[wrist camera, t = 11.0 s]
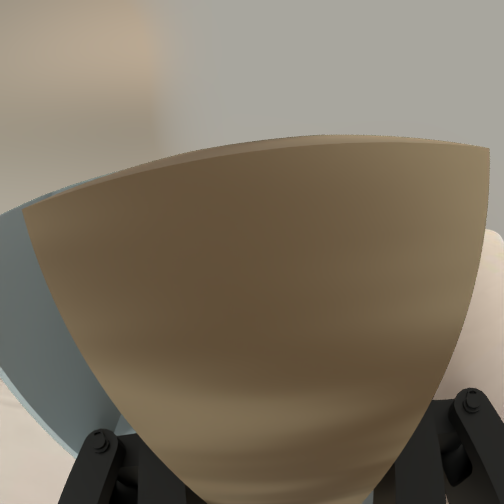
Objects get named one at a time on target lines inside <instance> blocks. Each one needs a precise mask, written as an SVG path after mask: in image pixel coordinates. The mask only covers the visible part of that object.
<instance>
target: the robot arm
mask: <svg viewBox="0 0 504 504" xmlns="http://www.w3.org/2000/svg"><path fill="white" fill-rule="evenodd" d="M445 494H446V496H447V499H448V502H449V504H504V423H503V422H502V420H501V418H500V417H499V415H498V414H497V412H496V410H495V409H494V407H493V406H492V404H491V403H490V401H489V399H488V398H487V396H486V395H485V394H484V393H483V392H482V391H480V390H478V389H476V388H467V389H463V390H462V391H461V392H459V393H458V394H457V396H456V398H455V399H449V400H431V402H430V404H429V406H428V408H427V410H426V412H425V414H424V415H423V417H422V419H421V421H420V423H419V424H418V426H417V428H416V429H415V431H414V433H413V434H412V436H411V438H410V439H409V441H408V442H407V444H406V446H405V447H404V449H403V450H402V452H401V453H400V455H399V456H398V457H397V459H396V460H395V462H394V463H393V465H392V466H391V467H390V469H389V470H388V471H387V473H386V474H385V475H384V477H383V478H382V479H381V481H380V482H379V483H378V484H377V486H376V487H375V488H374V489H373V504H446V497H445ZM58 504H207V503H206V502H205V501H204V500H203V499H201V498H200V497H199V496H198V495H197V494H196V493H194V492H193V491H192V490H191V489H190V488H189V487H188V486H187V485H186V484H185V483H183V482H182V481H181V480H180V479H179V478H178V477H177V476H176V475H175V474H174V473H173V472H172V471H171V470H170V469H169V468H168V467H167V466H166V465H165V464H164V463H163V462H162V461H161V460H160V459H159V458H158V457H157V455H156V454H155V453H154V452H153V451H152V450H151V449H150V448H149V447H148V445H147V444H146V443H145V442H144V441H143V440H142V439H141V437H140V436H139V435H138V434H137V433H134V434H127V435H120V436H116V435H115V434H114V432H113V431H111V430H108V429H102V428H100V429H97V430H94V431H92V432H91V433H90V434H88V436H87V437H86V439H85V440H84V443H83V445H82V447H81V449H80V451H79V454H78V456H77V458H76V460H75V463H74V465H73V467H72V470H71V472H70V474H69V477H68V479H67V482H66V484H65V487H64V489H63V492H62V494H61V497H60V499H59V502H58Z"/></svg>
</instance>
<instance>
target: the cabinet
mask: <svg viewBox="0 0 504 504" xmlns="http://www.w3.org/2000/svg"><path fill="white" fill-rule="evenodd" d="M121 171H122V170H121ZM118 172H119V171H118ZM113 173H115V172H113ZM110 174H112V173H110ZM106 175H109V174H106ZM106 175H103V176H106ZM103 176H99V177H96V178H93V179H89V180H86V181H83V182H80V183H76V184H73V185H70V186H67V187H65V188H62V189H60V190H57V191H54V192H51V193H48V194H46V195H43V196H41V197H38V198H36V199H34V200H31V201H29V202H27V203H24V204H22V205H20V206H18V207H16V208H14V209H11V210H9V211H7V212H5V213H3V214H1V215H0V377H1V379H2V380H3V382H4V383H5V384H6V386H7V387H8V388H9V390H10V391H11V392H12V393H13V395H14V396H15V397H16V398H17V400H18V401H19V402H20V403H21V404H22V406H23V407H24V408H25V409H26V410H27V411H28V413H29V414H30V415H31V416H32V417H33V418H34V419H35V420H36V421H37V422H38V423H39V425H40V426H41V427H42V428H43V429H44V430H45V431H46V432H47V433H48V434H49V435H50V436H51V437H52V438H53V439H54V440H55V441H56V442H57V443H59V444H60V445H61V446H62V447H63V448H64V449H65V450H66V451H67V452H68V453H69V454H71V455H72V456H73V457H74V458H75V459H76V458H77V456H78V454H79V451H80V449H81V447H82V445H83V443H84V440H85V439H86V437H87V436H88V434H90V433H91V432H92V431H94V430H97V429H100V428H102V429H108V430H111V431H113V432H114V434H115V435H116V436H120V435H127V434H134V433H136V431H135V430H134V429H133V428H132V427H131V425H130V424H129V423H128V422H127V420H126V419H125V418H124V416H123V415H122V414H121V413H120V411H119V410H118V409H117V407H116V406H115V404H114V403H113V402H112V400H111V399H110V398H109V396H108V395H107V393H106V392H105V390H104V389H103V387H102V386H101V384H100V383H99V381H98V380H97V378H96V377H95V375H94V374H93V372H92V371H91V369H90V367H89V366H88V364H87V362H86V361H85V359H84V357H83V356H82V354H81V352H80V351H79V349H78V347H77V345H76V344H75V342H74V340H73V338H72V336H71V334H70V332H69V331H68V329H67V327H66V325H65V323H64V321H63V319H62V317H61V315H60V313H59V311H58V308H57V306H56V304H55V302H54V300H53V297H52V295H51V293H50V291H49V288H48V286H47V284H46V281H45V279H44V276H43V274H42V271H41V268H40V266H39V263H38V260H37V258H36V255H35V252H34V249H33V246H32V243H31V240H30V237H29V234H28V230H27V227H26V224H25V220H24V216H23V213H22V209H23V208H25V207H28V206H30V205H32V204H34V203H37V202H39V201H41V200H43V199H46V198H48V197H50V196H53V195H55V194H58V193H60V192H63V191H65V190H68V189H70V188H73V187H76V186H78V185H81V184H84V183H86V182H89V181H92V180H95V179H98V178H101V177H103ZM362 504H373V491H372V492H371V493H370V494H369V495H368V497H367V498H366V499H365V500H364V501H363V502H362Z"/></svg>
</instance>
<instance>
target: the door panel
mask: <svg viewBox="0 0 504 504" xmlns="http://www.w3.org/2000/svg"><path fill="white" fill-rule="evenodd" d="M489 157H490V152H489V148H485V147H480V146H474V145H467V144H461V143H455V142H446V141H439V140H430V139H420V138H409V137H395V136H376V135H312V136H299V137H287V138H279V139H268V140H261V141H252V142H245V143H238V144H231V145H225V146H219V147H213V148H207V149H201V150H196V151H191V152H187V153H183V154H178V155H175V156H171V157H167V158H163V159H159V160H156V161H152V162H148V163H145V164H141V165H139V166H135V167H131V168H128V169H125V170H122V171H119V172H115V173H112V174H109V175H106V176H103V177H101V178H98V179H95V180H92V181H89V182H86V183H84V184H81V185H78V186H76V187H73V188H70V189H68V190H65V191H63V192H60V193H58V194H55V195H53V196H50V197H48V198H46V199H43V200H41V201H39V202H37V203H34V204H32V205H30V206H28V207H25V208H23V209H22V213H23V216H24V220H25V224H26V227H27V230H28V234H29V237H30V240H31V243H32V246H33V249H34V252H35V255H36V258H37V260H38V263H39V266H40V268H41V271H42V274H43V276H44V279H45V281H46V284H47V286H48V288H49V291H50V293H51V295H52V297H53V300H54V302H55V304H56V306H57V308H58V311H59V313H60V315H61V317H62V319H63V321H64V323H65V325H66V327H67V329H68V331H69V332H70V334H71V336H72V338H73V340H74V342H75V344H76V345H77V347H78V349H79V351H80V352H81V354H82V356H83V357H84V359H85V361H86V362H87V364H88V366H89V367H90V369H91V371H92V372H93V374H94V375H95V377H96V378H97V380H98V381H99V383H100V384H101V386H102V387H103V389H104V390H105V392H106V393H107V395H108V396H109V398H110V399H111V400H112V402H113V403H114V404H115V406H116V407H117V409H118V410H119V411H120V413H121V414H122V415H123V416H124V418H125V419H126V420H127V422H128V423H129V424H130V425H131V427H132V428H133V429H134V430H135V431H136V433H137V434H138V435H139V436H140V437H141V439H142V440H143V441H144V442H145V443H146V444H147V445H148V447H149V448H150V449H151V450H152V451H153V452H154V453H155V454H156V455H157V457H158V458H159V459H160V460H161V461H162V462H163V463H164V464H165V465H166V466H167V467H168V468H169V469H170V470H171V471H172V472H173V473H174V474H175V475H176V476H177V477H178V478H179V479H180V480H181V481H182V482H183V483H185V484H186V485H187V486H188V487H189V488H190V489H191V490H192V491H193V492H194V493H196V494H197V495H198V496H199V497H200V498H201V499H203V500H204V501H205V502H206V503H207V504H362V502H363V501H364V500H365V499H366V498H367V497H368V495H369V494H370V493H371V492H372V491H373V489H374V488H375V487H376V486H377V484H378V483H379V482H380V481H381V479H382V478H383V477H384V475H385V474H386V473H387V471H388V470H389V469H390V467H391V466H392V465H393V463H394V462H395V460H396V459H397V457H398V456H399V455H400V453H401V452H402V450H403V449H404V447H405V446H406V444H407V442H408V441H409V439H410V438H411V436H412V434H413V433H414V431H415V429H416V428H417V426H418V424H419V423H420V421H421V419H422V417H423V415H424V414H425V412H426V410H427V408H428V406H429V404H430V402H431V400H432V399H433V397H434V395H435V393H436V390H437V388H438V386H439V384H440V382H441V380H442V378H443V375H444V373H445V371H446V369H447V366H448V364H449V361H450V359H451V357H452V354H453V351H454V349H455V346H456V344H457V341H458V338H459V335H460V332H461V330H462V327H463V324H464V320H465V317H466V314H467V311H468V307H469V304H470V300H471V297H472V293H473V289H474V285H475V281H476V277H477V272H478V268H479V263H480V258H481V252H482V246H483V240H484V233H485V226H486V217H487V208H488V195H489V171H490V170H489V169H490V158H489Z"/></svg>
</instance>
